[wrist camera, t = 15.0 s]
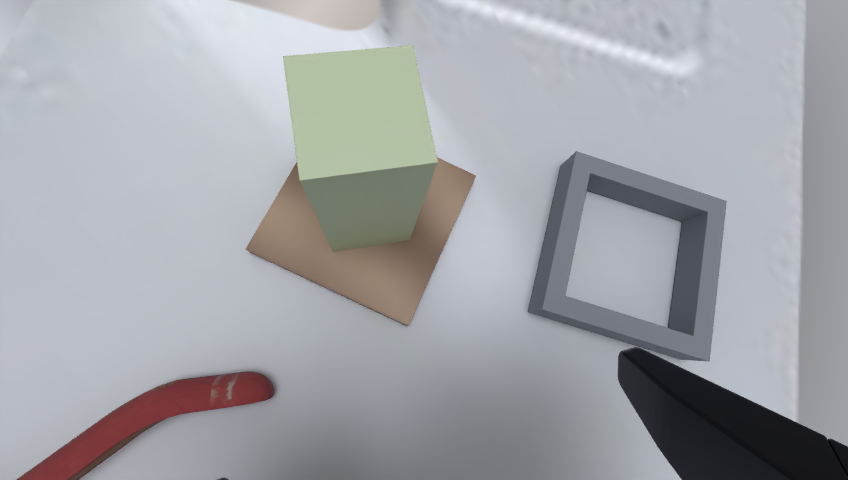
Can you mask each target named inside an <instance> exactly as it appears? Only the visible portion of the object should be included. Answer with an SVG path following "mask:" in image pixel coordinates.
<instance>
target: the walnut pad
mask: <svg viewBox="0 0 848 480" xmlns="http://www.w3.org/2000/svg"><path fill="white" fill-rule="evenodd" d="M437 160H438V163H437V166H436V169H435V172H434V174H433V177H432V180H431V182H430V185H429V188H428V191H427V193H426V196H425V199H424V202H423V204H422V207H421V210H420V213H419V215H418V218H417V221H416V223H415V226H414V229H413V232H412V234H411V237H410V240H406V241H400V242H394V243H387V244H381V245H375V246H368V247H362V248H356V249H350V250H343V251H337V252H332V249H331V247H330V245H329V243H328V241H327V239H326V236H325V234H324V232H323V230H322V228H321V226H320V223H319V221H318V219H317V217H316V215H315V213H314V210H313V208H312V206H311V204H310V202H309V200H308V197H307V195H306V193H305V191H304V189H303V187H302V184H301V182H300V179H299V172H298V165H297V163H296V165H295V166H294V168H293V170H292V171H291V173H290V175H289V176H288V178H287V180H286V181H285V183H284V185H283V187H282V188H281V190H280V192H279V193H278V195H277V197H276V198H275V200H274V202H273V203H272V205H271V207H270V209H269V210H268V212H267V214H266V215H265V217H264V219H263V220H262V222H261V224H260V226H259V227H258V229H257V231H256V232H255V234H254V236H253V237H252V239H251V241H250V242H249V244H248V246H247V248H246V250H247V251H249V252H250V253H253V254H255V255H257V256H259V257H261V258H263V259H265V260H267V261H270V262H272V263H274V264H276V265H278V266H280V267H282V268H284V269H287V270H289V271H291V272H293V273H295V274H297V275H299V276H302V277H304V278H306V279H308V280H310V281H312V282H314V283H316V284H319V285H321V286H323V287H325V288H327V289H329V290H331V291H334V292H336V293H338V294H340V295H342V296H344V297H346V298H348V299H351V300H353V301H355V302H357V303H359V304H361V305H363V306H366V307H368V308H370V309H372V310H374V311H376V312H378V313H380V314H383V315H385V316H387V317H389V318H391V319H393V320H395V321H398V322H400V323H402V324H404V325H406V326H408V325H409V323H410V321H411V318H412V316H413V314H414V312H415V310H416V307H417V305H418V303H419V301H420V299H421V296H422V294H423V292H424V290H425V288H426V285H427V283H428V281H429V279H430V276H431V274H432V272H433V270H434V268H435V265H436V263H437V261H438V259H439V257H440V254H441V252H442V250H443V248H444V245H445V243H446V241H447V239H448V237H449V234H450V232H451V230H452V228H453V226H454V223H455V221H456V219H457V217H458V215H459V212H460V210H461V208H462V206H463V203H464V201H465V199H466V197H467V195H468V192H469V190H470V188H471V186H472V184H473V181H474V179H475V177H476V176H475V175H473V174H471V173H469V172H467V171H465V170H463V169H461V168H458V167H456V166H454V165H452V164H450V163H448V162H446V161H444V160H442V159H439V158H437Z"/></svg>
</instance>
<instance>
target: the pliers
mask: <svg viewBox="0 0 848 480" xmlns="http://www.w3.org/2000/svg"><path fill="white" fill-rule="evenodd" d="M271 397H273V387H272V384H271V382H270V381H269V380H268V379H267V378H266V377H265V376H263V375H261V374H259V373H255V372H241V373H233V374H225V375H216V376H208V377H200V378H191V379H183V380H177V381H173V382H170V383H167V384H164V385H161V386H158V387H156V388H154V389H152V390H150V391H148V392H146V393H144V394H142V395H140V396H138V397H136V398H134V399H132V400H131V401H129V402H127V403H125V404H124V405H122V406H120V407H119V408H117V409H116V410H114V411H112V412H111V413H109V414H108V415H107V416H105V417H104V418H102V419H101V420H100V421H98V422H97V423H95V424H94V425H93V426H91V427H90V428H88V429H87V430H86V431H84V432H83V433H81V434H80V435H79V436H77V437H76V438H74V439H73V440H72V441H70V442H69V443H67V444H66V445H65V446H63V447H62V448H60V449H59V450H58V451H56V452H55V453H53V454H52V455H51V456H49V457H48V458H46V459H45V460H44V461H42V462H41V463H39V464H38V465H37V466H35V467H34V468H32V469H31V470H29V471H28V472H27V473H25V474H24V475H22V476H21V477H20V478H18V479H17V480H79V479H80V478H81V477H83V476H84V475H85V474H87V473H88V472H89V471H91V470H92V469H93V468H95V467H96V466H97V465H99V464H100V463H102V462H103V461H104V460H106V459H107V458H108V457H110V456H111V455H112V454H114V453H115V452H116V451H118V450H119V449H121V448H122V447H123V446H125V445H126V444H127V443H129V442H130V441H131V440H133V439H134V438H135V437H137V436H138V435H139V434H141V433H142V432H144V431H145V430H147V429H149V428H150V427H152V426H153V425H155V424H157V423H159V422H160V421H162V420H164V419H166V418H168V417H172V416H176V415H180V414H184V413H191V412H198V411H205V410H212V409H220V408H227V407H233V406H240V405H245V404H251V403H255V402H260V401H264V400H267V399H270V398H271Z"/></svg>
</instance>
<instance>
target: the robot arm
mask: <svg viewBox="0 0 848 480" xmlns="http://www.w3.org/2000/svg"><path fill="white" fill-rule="evenodd" d="M618 380H619V383H620V385H621V387H622V389H623V390H624V392H625V394H626V395H627V397H628V399H629V400H630V402H631V404H632V405H633V407H634V409H635V410H636V412H637V414H638V415H639V417H640V419H641V420H642V422H643V423H644V425H645V427H646V428H647V430H648V432H649V433H650V435H651V437H652V438H653V440H654V441H655V443H656V445H657V446H658V448H659V449H660V451H661V452H662V453H663V455H664V456H665V458H666V459H667V460H668V462H669V463H670V464H671V466H672V467H673V468H674V470H675V471H676V472H677V474H678V475H679V476H680V478H681V479H682V480H848V447H847V446H845V445H843V444H841V443H839V442H837V441H835V440H833V439H828V440H827V438H826V437H825V436H824V435H822V434H820V433H817V432H815V431H813V430H811V429H809V428H807V427H805V426H803V425H801V424H799V423H797V422H794V421H792V420H790V419H788V418H786V417H784V416H782V415H780V414H778V413H776V412H773V411H771V410H769V409H767V408H765V407H763V406H761V405H759V404H757V403H754V402H752V401H750V400H748V399H746V398H744V397H742V396H740V395H738V394H736V393H733V392H731V391H729V390H727V389H725V388H723V387H721V386H719V385H717V384H714V383H712V382H710V381H708V380H706V379H704V378H702V377H700V376H698V375H696V374H693V373H691V372H689V371H687V370H685V369H683V368H681V367H679V366H677V365H674V364H672V363H670V362H668V361H666V360H664V359H662V358H660V357H658V356H656V355H653V354H651V353H649V352H647V351H645V350H643V349H641V348H637V347H633V348H630V349H627V350H624V351H621V352H620V353H619V356H618ZM217 480H229V479H227V478H220V479H217Z"/></svg>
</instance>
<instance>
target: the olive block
mask: <svg viewBox="0 0 848 480" xmlns="http://www.w3.org/2000/svg"><path fill="white" fill-rule="evenodd" d="M283 61H284V68H285V76H286V83H287V91H288V98H289V105H290V113H291V120H292V128H293V135H294V142H295V150H296V157H297V165H298V172H299V179H300V182H301V184H302V187H303V189H304V191H305V193H306V195H307V197H308V200H309V202H310V204H311V206H312V208H313V210H314V213H315V215H316V217H317V219H318V221H319V223H320V226H321V228H322V230H323V232H324V234H325V236H326V239H327V241H328V243H329V245H330V247H331V249H332V252H337V251H343V250H350V249H356V248H362V247H368V246H375V245H381V244H387V243H394V242H400V241H406V240H410V237H411V234H412V232H413V229H414V226H415V223H416V221H417V218H418V215H419V213H420V210H421V207H422V204H423V202H424V199H425V196H426V193H427V191H428V188H429V185H430V182H431V180H432V177H433V174H434V172H435V169H436V166H437V163H438V160H437V156H436V151H435V146H434V141H433V137H432V132H431V127H430V122H429V118H428V113H427V108H426V103H425V98H424V94H423V89H422V84H421V79H420V75H419V70H418V65H417V60H416V56H415V51H414V46H413V45H410V46H399V47H387V48H375V49H364V50H352V51H340V52H328V53H317V54H305V55H293V56H283Z"/></svg>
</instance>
